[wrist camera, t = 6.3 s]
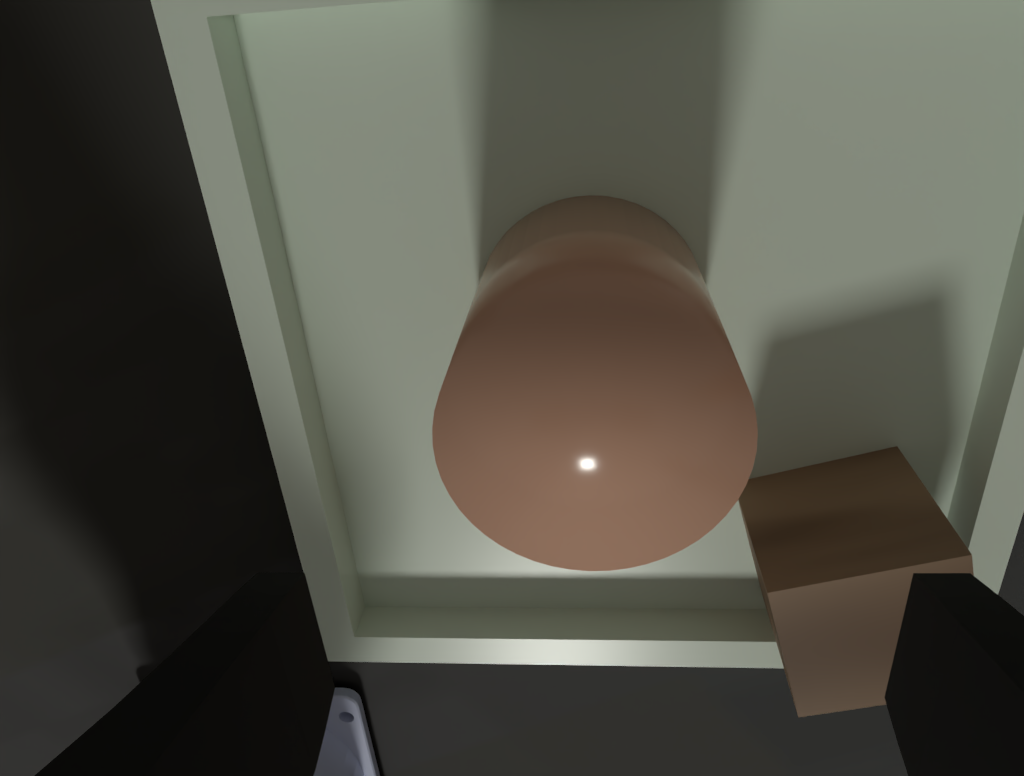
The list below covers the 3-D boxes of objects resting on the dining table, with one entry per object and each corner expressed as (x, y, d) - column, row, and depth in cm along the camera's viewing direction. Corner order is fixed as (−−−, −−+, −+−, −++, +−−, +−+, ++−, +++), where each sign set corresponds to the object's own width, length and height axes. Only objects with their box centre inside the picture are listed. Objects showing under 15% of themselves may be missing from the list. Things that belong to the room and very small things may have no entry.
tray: (945, 620, 22) (974, 671, 20) (344, 616, 23) (327, 661, 22) (1148, -127, 13) (1225, -142, 12) (186, -38, 15) (139, -41, 14)
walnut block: (913, 566, 20) (983, 689, 16) (762, 594, 21) (798, 717, 17) (897, 446, 18) (972, 554, 15) (733, 482, 19) (767, 593, 16)
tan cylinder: (709, 392, 18) (760, 560, 13) (499, 415, 19) (466, 580, 14) (697, 178, 16) (754, 274, 10) (458, 213, 16) (398, 319, 11)
